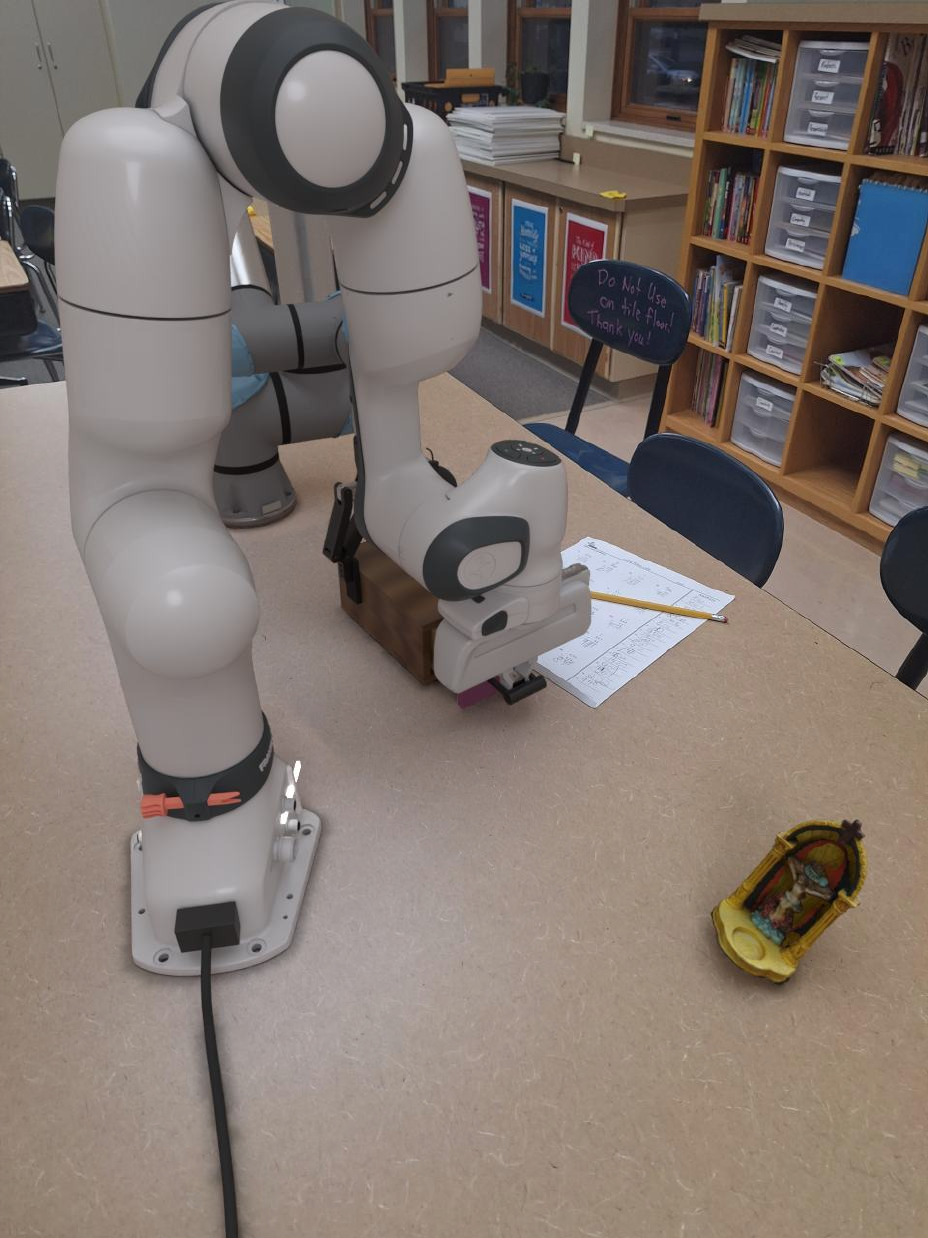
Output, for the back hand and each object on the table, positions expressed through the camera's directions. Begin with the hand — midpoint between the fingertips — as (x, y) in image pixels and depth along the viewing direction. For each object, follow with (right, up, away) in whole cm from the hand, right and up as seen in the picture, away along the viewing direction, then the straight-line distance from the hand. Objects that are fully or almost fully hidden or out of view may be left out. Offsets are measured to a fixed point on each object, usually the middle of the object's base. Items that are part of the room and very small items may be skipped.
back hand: (393, 584), depth 117 cm
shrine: (+37, -34, -40) cm, 64 cm away
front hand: (+15, -13, -17) cm, 26 cm away
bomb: (+5, +13, +26) cm, 30 cm away
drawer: (+10, -11, -9) cm, 17 cm away
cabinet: (+3, -6, -1) cm, 7 cm away
